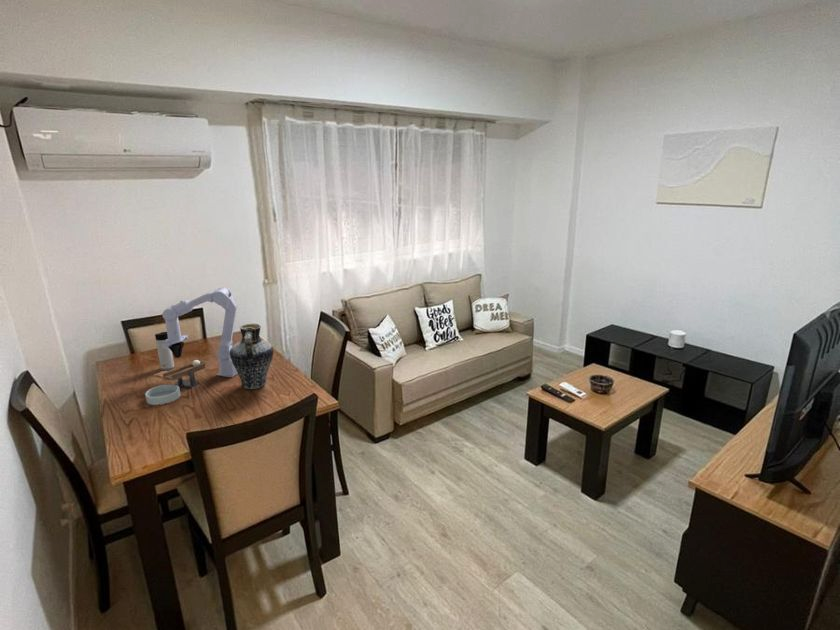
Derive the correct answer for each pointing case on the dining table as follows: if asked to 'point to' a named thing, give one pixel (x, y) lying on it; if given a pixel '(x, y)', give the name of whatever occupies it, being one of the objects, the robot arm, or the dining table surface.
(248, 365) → the jug
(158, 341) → the travel mug
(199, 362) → the ball
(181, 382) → the stand
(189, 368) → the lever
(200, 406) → the dining table surface
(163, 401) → the bowl
